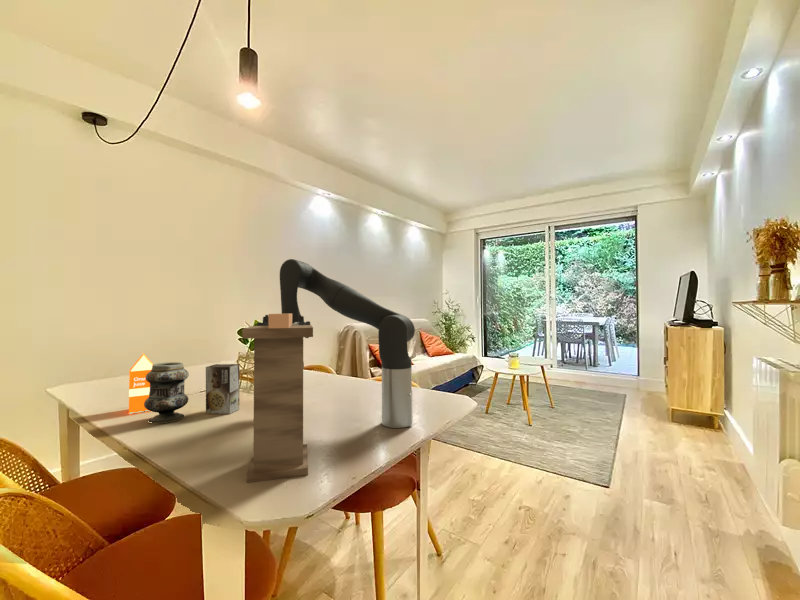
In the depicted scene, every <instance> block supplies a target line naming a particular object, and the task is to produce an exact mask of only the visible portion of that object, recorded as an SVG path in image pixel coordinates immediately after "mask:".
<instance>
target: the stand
mask: <svg viewBox="0 0 800 600" xmlns="http://www.w3.org/2000/svg"><path fill="white" fill-rule="evenodd" d="M241 333H242V337H241V338H242V339H247V340H249V339H253V345H254V346H253V456H252V459H251V462H250V464H249V467H248V470H247V473H246V483H253V482H261V481H269V480H278V479H284V478H285V479H286V478H287V479H288V478H294V477H303V476H308V475H309V461H308V459H309V458H308V444H307V443H305V444H304V368H303V362H304V338H305V337H309V338H313V337H314V327H313V325H312V324H310V325H291V326H290V327H289V328H269V326H257V325H252V326H249V327H244V328H242V332H241Z"/></svg>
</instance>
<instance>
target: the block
mask: <svg viewBox="0 0 800 600" xmlns="http://www.w3.org/2000/svg"><path fill="white" fill-rule="evenodd" d="M268 316H269V328H289V327H290V326H291V325H292V314H282V313H268Z"/></svg>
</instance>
